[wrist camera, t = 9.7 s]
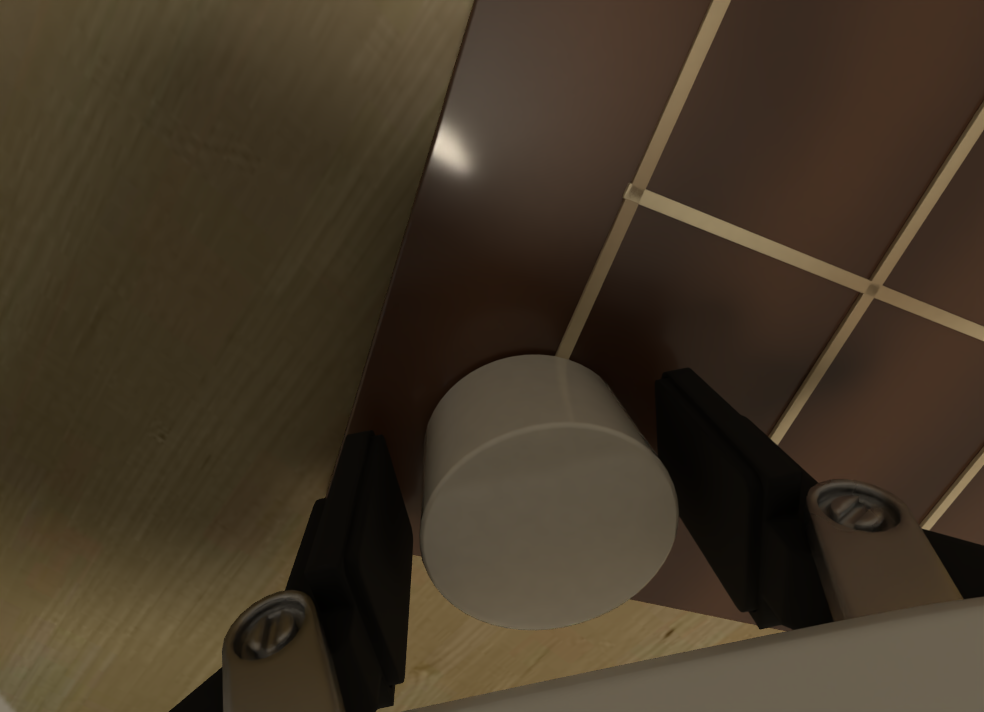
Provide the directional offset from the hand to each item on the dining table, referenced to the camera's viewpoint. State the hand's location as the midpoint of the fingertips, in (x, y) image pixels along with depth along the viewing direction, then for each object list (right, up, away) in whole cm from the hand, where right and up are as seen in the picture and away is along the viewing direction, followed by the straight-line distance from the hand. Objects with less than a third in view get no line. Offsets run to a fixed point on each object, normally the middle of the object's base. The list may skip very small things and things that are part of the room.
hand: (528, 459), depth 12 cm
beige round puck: (0, 0, 0) cm, 1 cm away
